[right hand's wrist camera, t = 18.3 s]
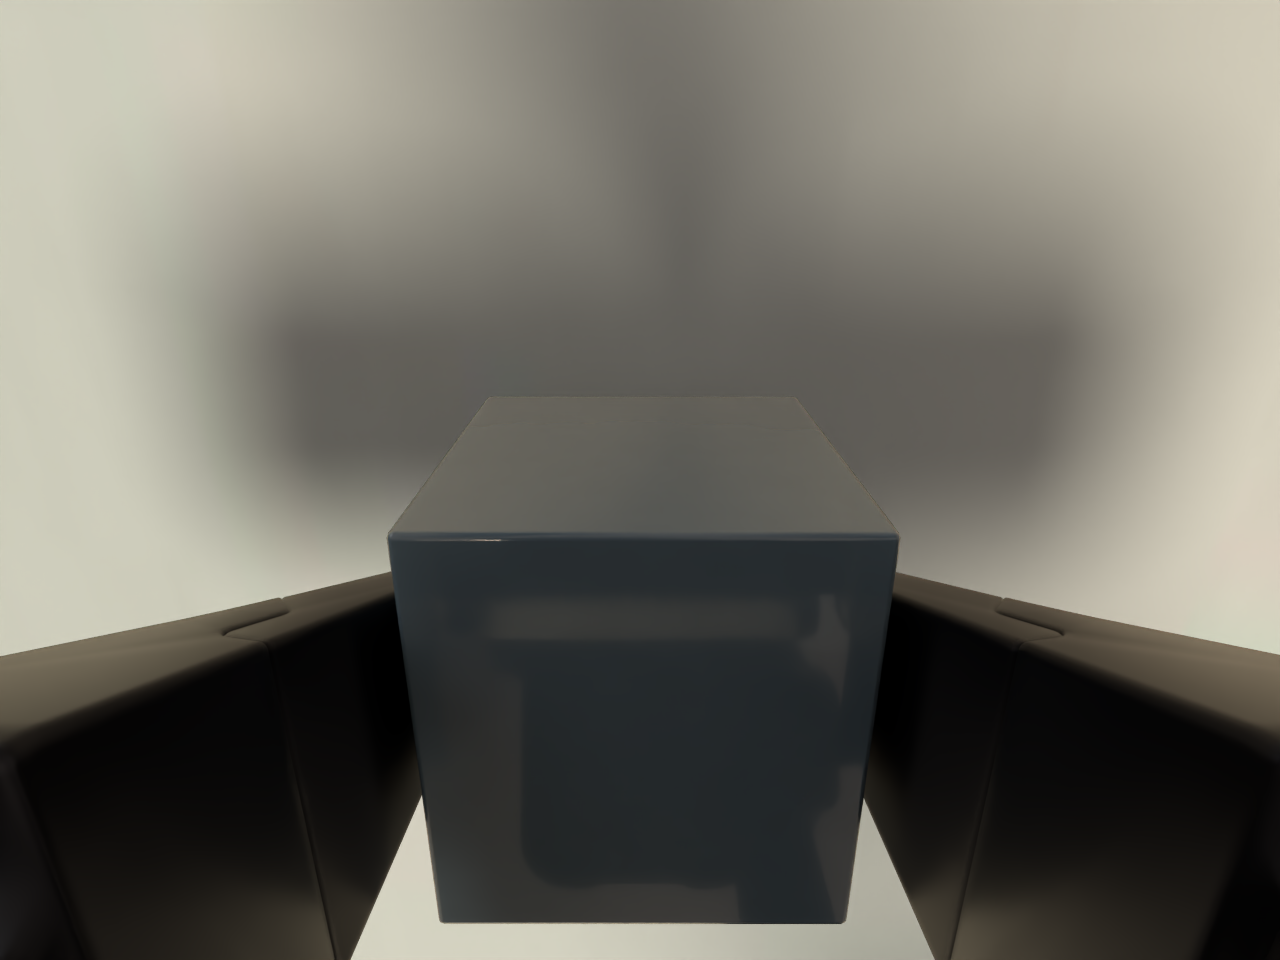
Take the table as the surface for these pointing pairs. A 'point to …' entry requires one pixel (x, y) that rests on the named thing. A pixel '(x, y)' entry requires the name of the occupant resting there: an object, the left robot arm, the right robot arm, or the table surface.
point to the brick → (643, 661)
